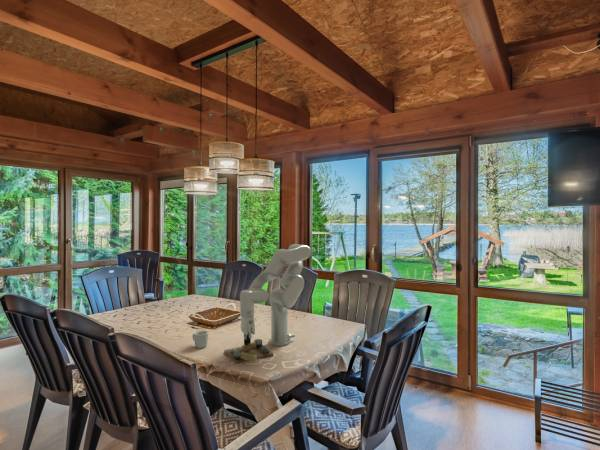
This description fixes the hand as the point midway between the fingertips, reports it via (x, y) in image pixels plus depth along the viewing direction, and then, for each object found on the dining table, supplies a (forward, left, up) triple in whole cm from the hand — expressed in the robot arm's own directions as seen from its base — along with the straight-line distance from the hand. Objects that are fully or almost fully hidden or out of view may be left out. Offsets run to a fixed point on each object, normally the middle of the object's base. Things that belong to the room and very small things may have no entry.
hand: (247, 346), depth 194 cm
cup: (+21, -21, -3) cm, 29 cm away
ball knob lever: (-2, +2, -1) cm, 3 cm away
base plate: (+1, +5, -3) cm, 6 cm away
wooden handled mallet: (+7, +15, -1) cm, 16 cm away
